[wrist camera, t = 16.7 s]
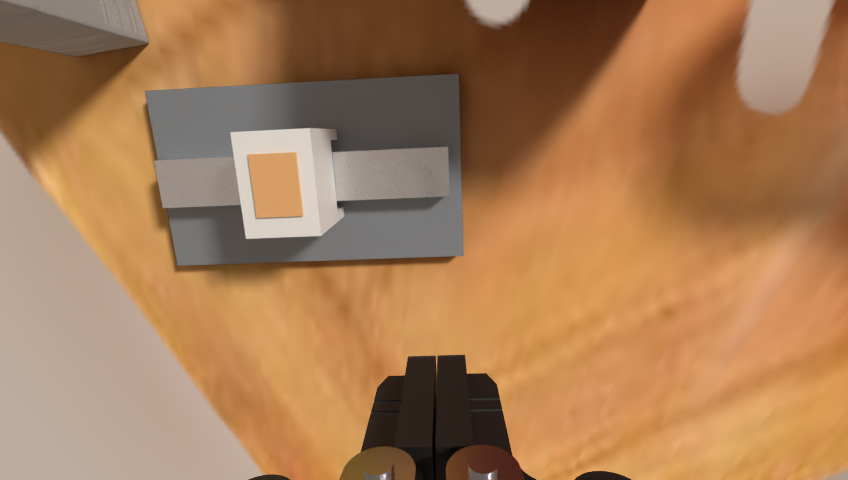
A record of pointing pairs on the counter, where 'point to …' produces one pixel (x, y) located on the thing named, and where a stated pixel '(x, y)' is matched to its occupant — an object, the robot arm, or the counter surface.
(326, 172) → the block
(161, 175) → the rail
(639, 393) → the counter surface
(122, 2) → the skincare box
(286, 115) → the rail board
